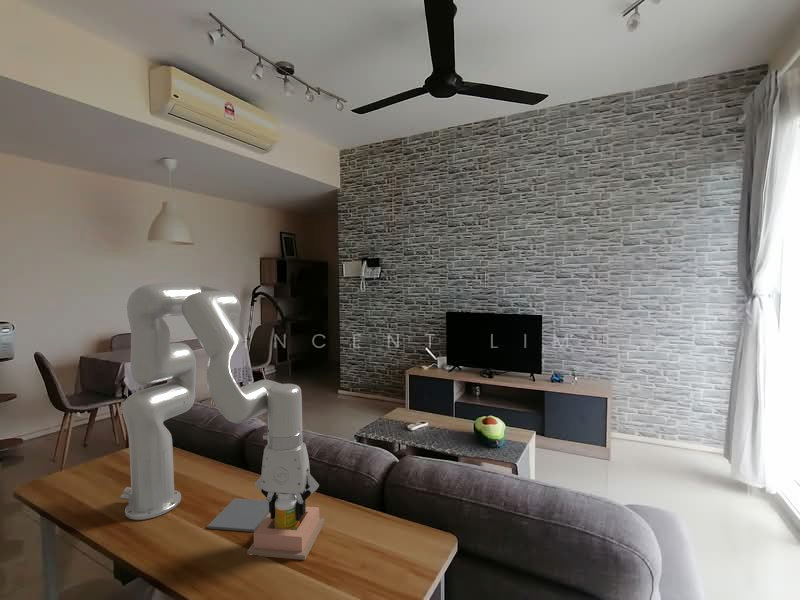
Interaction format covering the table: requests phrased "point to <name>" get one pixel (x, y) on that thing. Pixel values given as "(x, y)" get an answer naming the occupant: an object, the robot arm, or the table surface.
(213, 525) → the rubber mat
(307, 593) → the table surface
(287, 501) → the supplement bottle
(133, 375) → the robot arm
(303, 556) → the collar block
